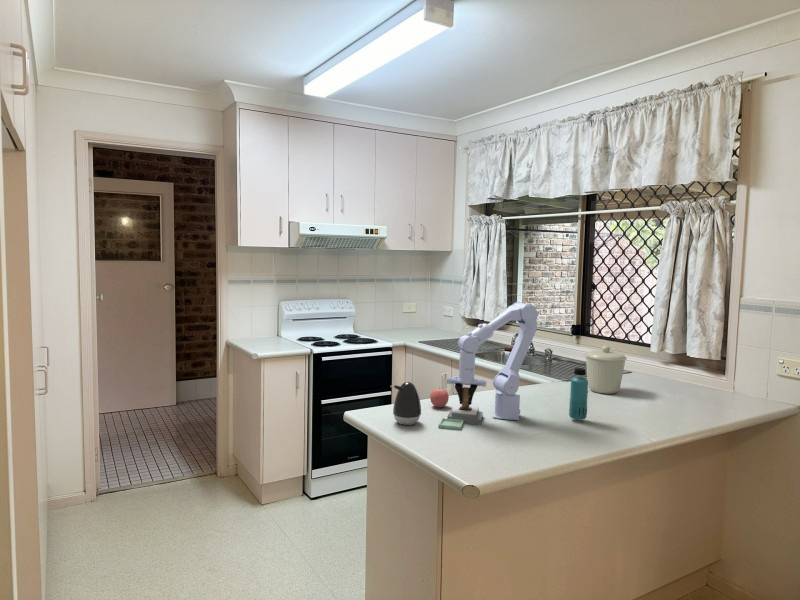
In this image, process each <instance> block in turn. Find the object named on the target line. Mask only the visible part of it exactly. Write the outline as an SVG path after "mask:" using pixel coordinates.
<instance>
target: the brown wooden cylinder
mask: <svg viewBox="0 0 800 600" xmlns="http://www.w3.org/2000/svg"><path fill="white" fill-rule="evenodd" d="M469 398H470V387H467V386H465V387H464V386H463V388H462V404H461V405H462V410H465V411H469V406H470V405H469Z"/></svg>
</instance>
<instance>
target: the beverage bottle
mask: <svg viewBox="0 0 800 600" xmlns="http://www.w3.org/2000/svg"><path fill="white" fill-rule="evenodd" d="M573 375H576V376H574V377H572V378H571V379H570V394H569V395H570V397H569V403H568V404H569V408H568V410H569V411H568V415H569V417H570V418H571V419H574V420H586V419H587V414H588V396H589V394H588V393H589V387H588V380H587V377H584V376H587V371H586V369H585V368H582V367H576V368H574V371H573Z"/></svg>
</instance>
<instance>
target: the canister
mask: <svg viewBox="0 0 800 600" xmlns="http://www.w3.org/2000/svg"><path fill="white" fill-rule="evenodd" d="M584 356H585V361H586V362H585V365H586V379H587V380H588V389H589V390H590V391H592V392H593V393H598V394H604V395H605V394H606V395H610V394H617V393H618V392H619V390H620V389H621V385H622V380H623V375H624V369H625V362H626V360H627V359H628V357H627V356H626V355H624V354H623V353H622V352H618V351H612V350H611V347H610V346H608V345H602V347H601V349H595V350H590V351H587V352H585V353H584Z"/></svg>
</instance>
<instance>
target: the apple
mask: <svg viewBox="0 0 800 600" xmlns="http://www.w3.org/2000/svg"><path fill="white" fill-rule="evenodd" d="M429 397H430V402H431V404H432V405H433V406H434V407H436V408H443V407H445V406H447V404H448V402H449V393H448V391H447V390H446V389H443V388H440V387H439V388H435V389H432V390H431V392H430V395H429Z"/></svg>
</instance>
